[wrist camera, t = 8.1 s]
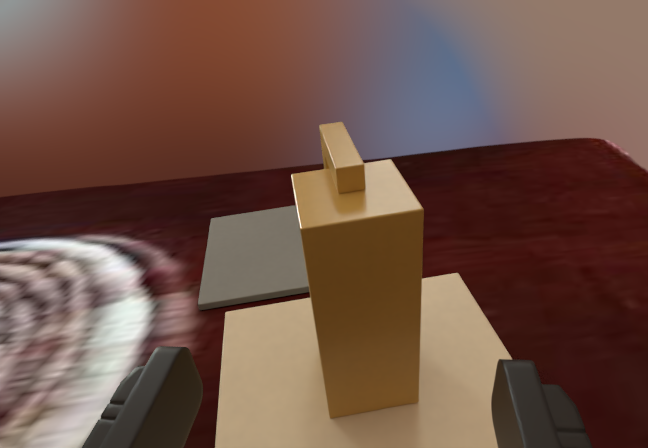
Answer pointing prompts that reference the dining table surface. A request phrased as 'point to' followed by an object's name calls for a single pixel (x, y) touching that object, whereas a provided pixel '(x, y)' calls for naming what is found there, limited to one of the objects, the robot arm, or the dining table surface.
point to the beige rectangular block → (368, 427)
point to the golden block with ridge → (362, 276)
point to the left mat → (253, 258)
